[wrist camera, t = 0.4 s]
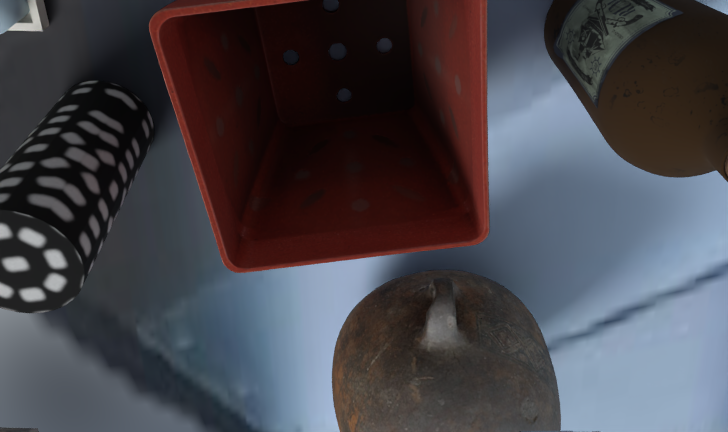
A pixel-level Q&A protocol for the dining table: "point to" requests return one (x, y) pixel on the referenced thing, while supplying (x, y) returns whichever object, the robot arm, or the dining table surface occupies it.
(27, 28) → the caddy tray
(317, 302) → the dining table surface
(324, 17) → the plant pot
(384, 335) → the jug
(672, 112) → the olive oil
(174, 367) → the dining table surface
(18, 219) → the white-spotted black cylinder
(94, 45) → the dining table surface
